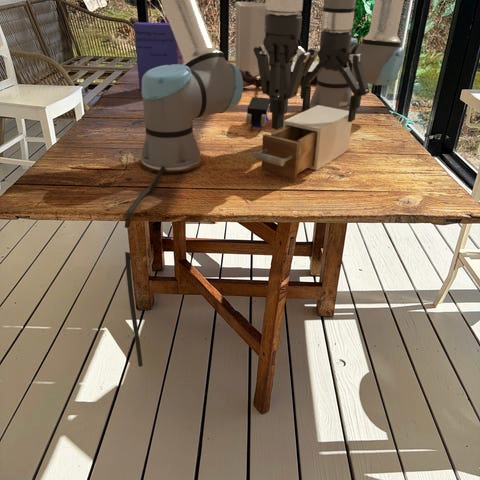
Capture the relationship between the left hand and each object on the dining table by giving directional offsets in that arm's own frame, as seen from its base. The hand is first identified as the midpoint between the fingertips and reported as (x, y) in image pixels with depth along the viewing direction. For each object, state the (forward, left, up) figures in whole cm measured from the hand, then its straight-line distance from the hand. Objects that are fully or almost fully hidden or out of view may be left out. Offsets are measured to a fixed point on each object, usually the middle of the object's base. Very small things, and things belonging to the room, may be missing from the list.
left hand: (277, 127), depth 108 cm
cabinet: (+19, -9, -13) cm, 25 cm away
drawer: (+7, -3, -12) cm, 14 cm away
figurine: (+88, +23, -13) cm, 91 cm away
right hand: (+24, -11, -3) cm, 26 cm away
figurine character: (+40, +11, -13) cm, 43 cm away
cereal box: (+77, +55, -13) cm, 95 cm away
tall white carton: (+117, +25, -13) cm, 121 cm away
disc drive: (+111, +2, -13) cm, 112 cm away
